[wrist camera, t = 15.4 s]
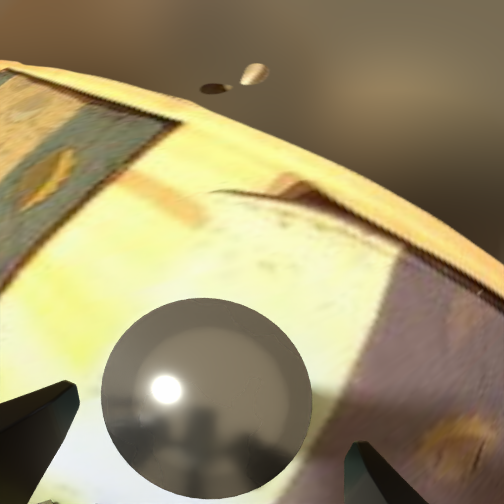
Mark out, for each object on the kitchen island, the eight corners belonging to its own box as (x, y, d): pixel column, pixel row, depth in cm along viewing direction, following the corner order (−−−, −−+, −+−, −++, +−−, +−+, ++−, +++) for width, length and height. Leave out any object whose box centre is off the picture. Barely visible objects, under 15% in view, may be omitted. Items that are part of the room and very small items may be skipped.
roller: (280, 420, 15) (354, 428, 6) (208, 460, 14) (167, 530, 4) (236, 353, 17) (241, 262, 7) (166, 391, 16) (70, 350, 6)
